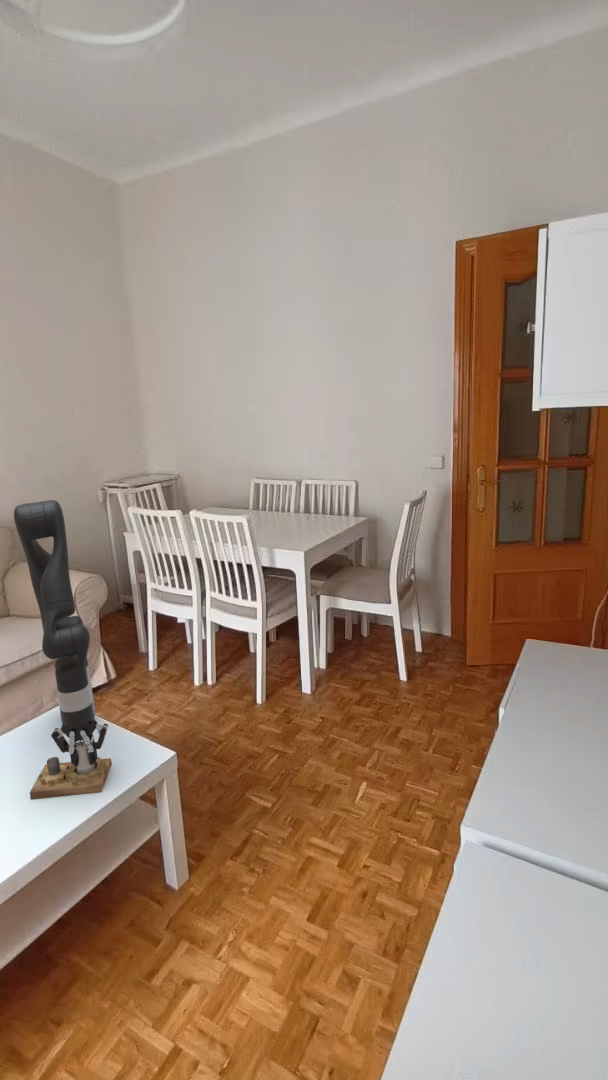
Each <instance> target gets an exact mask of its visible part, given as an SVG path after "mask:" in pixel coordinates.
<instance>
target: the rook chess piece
mask: <svg viewBox="0 0 608 1080" xmlns="http://www.w3.org/2000/svg"><path fill="white" fill-rule="evenodd" d="M76 749H77V750H78V752H77V753H78V755H79V761H78V766H77V773H78V774H80V775H82V774H88V773H90V772H92V771H93V770H94V768H95V765H94V764H92V765H91V764H90V757H89V749H88V747H87V745H86V744H85V742H84V741H81V740H80V741H77V746H76Z"/></svg>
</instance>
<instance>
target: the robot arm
mask: <svg viewBox="0 0 608 1080" xmlns="http://www.w3.org/2000/svg"><path fill="white" fill-rule="evenodd" d="M13 518H14V519H13V520H14V524H15V528H16V530H17V534H18V537H19V540H20V543H21V546H22V548H23V552H24V554H25V559H26V563H27V566H28V570H29V571H28V572H29V576H30V581H31V585H32V589H33V592H34V596H35V599H36V602H37V605H38V609H39V613H40V618H41V619H40V620H41V624H42V626H41V627H42V632H43V634H42V635H43V636H42V640H41V641H42V643H41V648H42V652H43V655H44V656H45V657H46V658H48V659H50V660H56V661H55V662H54V669H55V671H54V675H55V681H56V687H57V688H56V689H57V701H58V702H57V703H58V707H59V711H60V720H61V724H62V725H61V727H60V728H58V727H56V728H55V729H54V730H53V731H52V733H51V735H50V737H51V738H52V739H53V741H54V742H55V744H56V745H57V748H58V749H59V750H60V752H61V753H63V754H65V753H68V754H69V756H70V762H71V763H72V764H74V766H78V761H79V755H78V753H77V752H78V750H77V749H76V746H77V742H79V741H80V740H81V742H83V741H84V742H85V744H86V745H87V747H88V749H89V751H88V752H89V757H90V764H91V765H92V764H94V763H95V762H96V760H97V757H98V751H97V750H101V748H102V746H103V744H104V741H105V738H106V734H107V731H108V727H109V724H108V723H104V724H100V723H98V722H97V720H96V719H95V717H96V708H95V702H94V695H93V694H94V693H93V688H92V682H91V681H92V680H91V676H90V669H89V668H90V667H89V661H88V652H89V651H88V650H89V646H90V638H91V637H90V632H89V630H88V628H87V627H86V626H85V625H84V622H83V619H82V617H80V615H74V614H75V613H76V604H75V600H74V594H73V588H72V584H71V579H70V567H69V565H70V564H69V552H68V540H67V531H66V523H65V517H64V512H63V509H62V507H61V504H60V503H59V501H58V500H55V499H51V500H50V499H49V500H42V501H36V502H28V503H23V504H18V505H16V506H15V508H14V510H13ZM52 537H53V549H52V552H51V553H50V552H48V551H47V550H46V549H44V548H43V547H42V546H41V545H40V544H39V542H38V540H39V539H40V540H42V539H45V538H46V539H47V538H52ZM95 730H96V731H97V734H98V735H99V736H98V738H97V739H98V740H97V741H95V739H96V738H95V735H94V732H95ZM65 736H66V737H67V738H68V739H69V740H68V741H67V739H66V737H65Z"/></svg>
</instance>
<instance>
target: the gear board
mask: <svg viewBox="0 0 608 1080" xmlns="http://www.w3.org/2000/svg"><path fill="white" fill-rule="evenodd" d="M94 765H95V768H94V770H93V771H92V772H90V773H88V774H82V775H80V774H78V773H77V766H74V764H72V763H71V761H67V762H66V761H65V762H60V759H59V756H52V757H49V758H48V759H47V760H46V763H45V764H44V766H43V768H42V770H41V771H40V772H39V775H38V776H37V779H36V780H35V782H34V784H33V786H32V787H31V790H30V791H29V797H30V800H36V799H38V800H39V799H46V798H47V799H49V798H58V797H67V796H69V797H70V796H74V795H75V796H77V795H78V796H79V795H86V794H95V793H96V794H97V793H102V791H103V788H104V786H105V783H106V780H107V779H108V776H109V774H110V770H111V767H112V765H113V764H112V758H111V757H106V758H101V757H97V760H96V762H95V763H94Z"/></svg>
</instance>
